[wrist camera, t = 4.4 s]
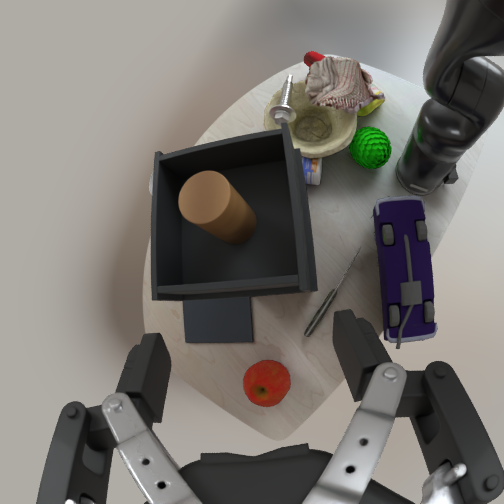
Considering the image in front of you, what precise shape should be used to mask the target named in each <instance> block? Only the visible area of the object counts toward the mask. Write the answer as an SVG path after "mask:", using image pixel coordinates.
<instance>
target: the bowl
mask: <svg viewBox="0 0 504 504" xmlns="http://www.w3.org/2000/svg"><path fill="white" fill-rule="evenodd" d="M306 87H307V86H306V84H305V81H300V82H298V83H295V84H293V89H292V93H291V94H292V95H291V99H290V100H291V101H290V106H289V107H291V108H292V109H294V110H295V112H296V119H295V120H294V121H292V122H290V123H288V127H289V130H290V134H291V138H292V142H293V146H294V149H296V148H300V150H301V156H303V157H306V158H318V157H319V158H320V157H326V156H329V155H332V154H334V153H336V152H339V151H341V150H343V149H344V148H345V147H346V146H348V145H349V144H350V143H351V141H352V139H353V136H354V135H355V132H356V127H357V112H356V113H351V114H350V113H347V112H345V111H344V110H342V109H340V110H337V109H336V108H334V107H330V106H318V105H313V104H312V103H310V102H309V98H308V97H307V94H305V91H306V90H305V89H306ZM282 89H283V88H282ZM282 89H280V90H279V91H277V92H276V93H275V94H274V95H273V97H272V99H271V100H270V102H269V103H268V105H267V107H266V109H265V113H264V127H265V130H266V131H269V130H275V129H281V126H279V125H277V124H275V123H274V121H275V120H274V119H272V118H271V116H270V114H269V111H270V109H271V107H273V106H275V105H279V104H280V99H281V95H282Z"/></svg>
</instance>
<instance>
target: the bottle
mask: <svg viewBox="0 0 504 504" xmlns="http://www.w3.org/2000/svg"><path fill="white" fill-rule="evenodd" d="M324 58H325V56H323V55H321V54H318V53H317V52H314V51H311V52H308V53H306V55H305V56H304V63H305V64H306V65H307V66H309V67H310V66H311V65H313V64H314V62H316V61H322V59H324ZM371 86H372V87H371V89H372V91H373V92H374V94H375V95H378V94H379V93H380V92H381V91H380V90H379V89H378V88H377V87H376V86H375V85H374V84H371ZM381 93H382V92H381ZM383 102H384V99H379V100H378V99H376V100H374V101H372V102H371V103H369V104H368V105H366V106H364V107H363V108H362V107H361V109H359V110H358V111H357V116H366V115H368V114H369V113H371V112H372V111H373V110H374V109H375V108H377V107H378V106H380V105H381V104H382V103H383Z"/></svg>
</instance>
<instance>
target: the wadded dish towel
mask: <svg viewBox="0 0 504 504" xmlns="http://www.w3.org/2000/svg"><path fill="white" fill-rule="evenodd" d="M305 84H306V86H307V87H306V89H305V90H306V91H305V94H307V97H308V98H309V102H310V103H312V104H313V105H318V106H330V107H334V108H336V109H337V110H340V109H342V110H344V111H345V112H347V113H350V114H351V113H356V112H357V111H358V110H359V109H361V107H362V108H363V107H364V106H366V105H368V104H369V103H371V102H372V101H374V100H376V99H378V100H379V99H384V100H385V97H384V94H383V93H381V92H380V93H379V94H378V95H375V94H374V92H373V91H372V89H371V87H372V86H371V84H372V77H371V75H370V74H369V73H368V72H367V71H365V70H363V69H361V68H360V64H359V62H357V61H355V60H353V59H350V58H347V57H344V58H341V57H339V58H338V57H337V58H334V57H325V58H324V59H322V61H316V62H314V64H313V65H311V66H310V68H309V74H308V75H307V77H306V80H305Z"/></svg>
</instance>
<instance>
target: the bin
mask: <svg viewBox="0 0 504 504" xmlns="http://www.w3.org/2000/svg"><path fill="white" fill-rule="evenodd" d="M203 171H215V172H218V173H220V174H222V175H223V176H224V177H225V178H226V179H227V180H228V182H229V183H230V184H231V185H232V186H233V187H234V189H235V190H236V191H237V192H238V193H239V194H240V196H241V197H242V198H243V199H244V200H245V201H246V203H247V204H248V205H249V206H250V207H251V209H252V210H253V211H254V213H255V215H256V220H257V224H256V229H255V231H254V233H253V235H252V236H251V237H250V238H249V239H248V240H246V241H245V242H243V243H240V244H229V243H226V242H224V241H223V240H221V239H219V238H217V237H216V236H214V235H212V234H210V233H209V232H207V231H205V230H203V229H202V228H200V227H198V226H196V225H195V224H193V223H191V222H189V221H188V220H186V219H185V218H184V217H183V215H182V213H181V211H180V208H179V194H180V191H181V189H182V187H183V185H184V184H185V183H186V181H187V180H188V179H189V178H191V177H192V176H193V175H195V174H197V173H199V172H203ZM151 288H152V300H156V301H192V300H210V299H227V298H242V297H255V296H268V295H280V294H292V293H302V292H313V291H318V288H317V276H316V266H315V256H314V246H313V237H312V229H311V220H310V212H309V205H308V197H307V190H306V183H305V176H304V169H303V163H302V156H301V150H300V148H296V149H294V146H293V142H292V138H291V134H290V130H289V127H288V123H287V122H285V123H281V129H275V130H269V131H263V132H258V133H253V134H247V135H242V136H238V137H233V138H228V139H224V140H219V141H215V142H210V143H206V144H202V145H198V146H194V147H190V148H186V149H183V150H179V151H175V152H172V153H168V154H163V153H162V152H160V151H158V152H155V159H154V172H153V188H152V212H151Z"/></svg>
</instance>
